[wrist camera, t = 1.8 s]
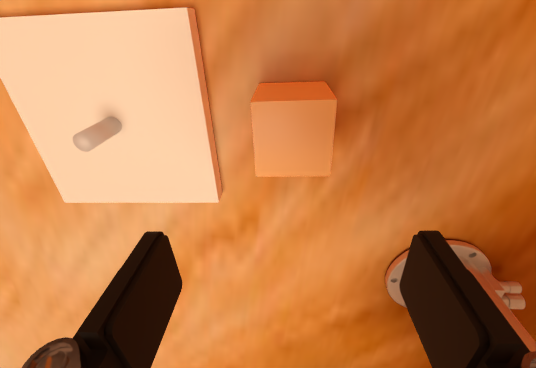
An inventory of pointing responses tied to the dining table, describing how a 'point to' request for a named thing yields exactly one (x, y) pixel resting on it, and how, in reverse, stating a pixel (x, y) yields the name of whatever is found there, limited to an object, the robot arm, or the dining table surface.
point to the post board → (115, 103)
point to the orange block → (293, 128)
